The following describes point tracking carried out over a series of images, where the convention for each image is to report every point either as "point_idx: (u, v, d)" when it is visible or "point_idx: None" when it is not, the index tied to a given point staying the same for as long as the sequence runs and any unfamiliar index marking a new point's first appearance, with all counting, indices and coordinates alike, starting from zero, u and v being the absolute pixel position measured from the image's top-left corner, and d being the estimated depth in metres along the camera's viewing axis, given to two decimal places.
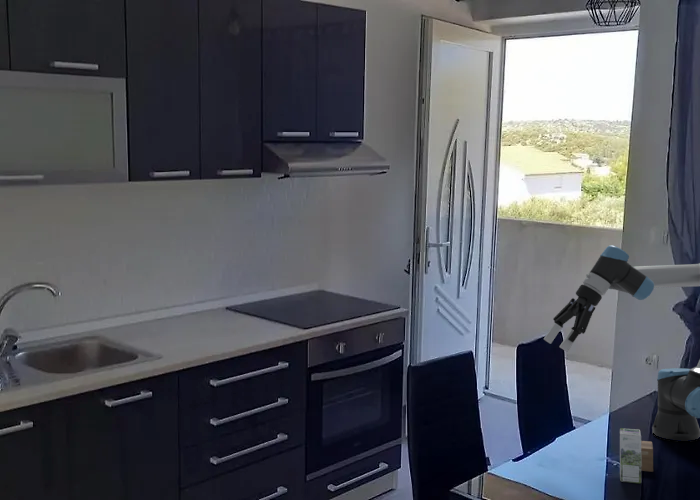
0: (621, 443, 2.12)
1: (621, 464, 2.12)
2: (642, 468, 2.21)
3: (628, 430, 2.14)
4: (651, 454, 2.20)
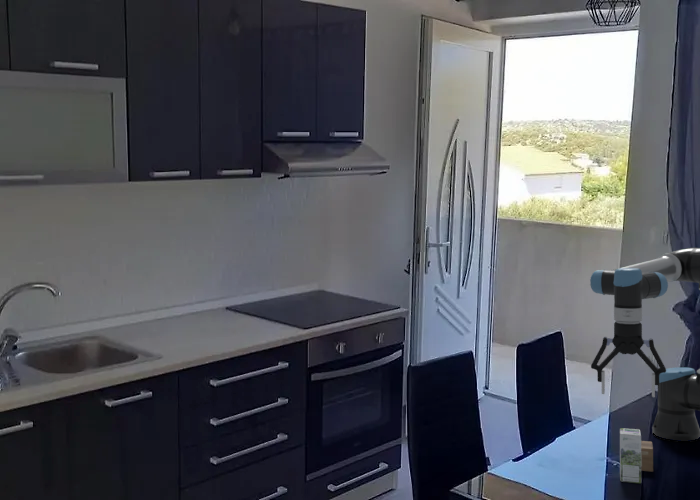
0: (621, 443, 2.12)
1: (621, 464, 2.12)
2: (642, 468, 2.21)
3: (628, 430, 2.14)
4: (651, 454, 2.20)
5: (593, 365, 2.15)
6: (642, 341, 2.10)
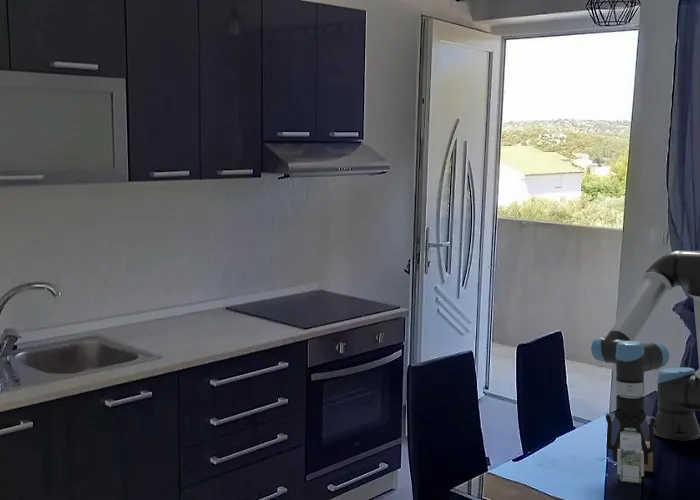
0: (621, 443, 2.12)
1: (621, 464, 2.12)
2: None
3: (628, 430, 2.14)
4: (651, 454, 2.20)
5: (608, 445, 2.14)
6: (645, 416, 2.11)
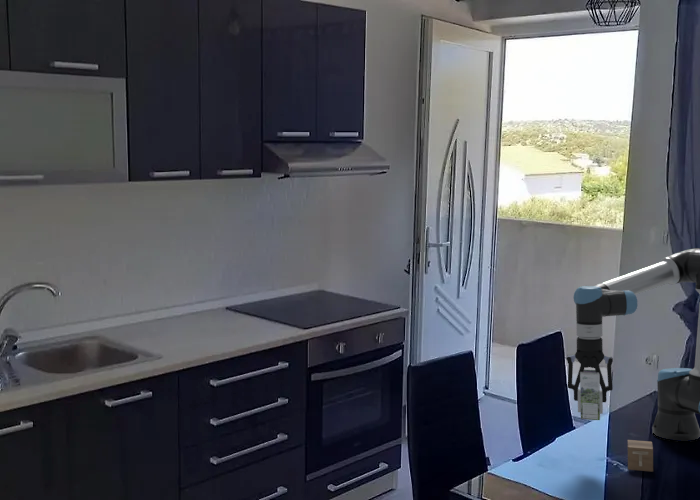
0: (581, 382, 2.23)
1: (581, 402, 2.24)
2: (642, 468, 2.21)
3: (588, 370, 2.25)
4: (651, 454, 2.20)
5: (569, 385, 2.26)
6: (603, 356, 2.23)
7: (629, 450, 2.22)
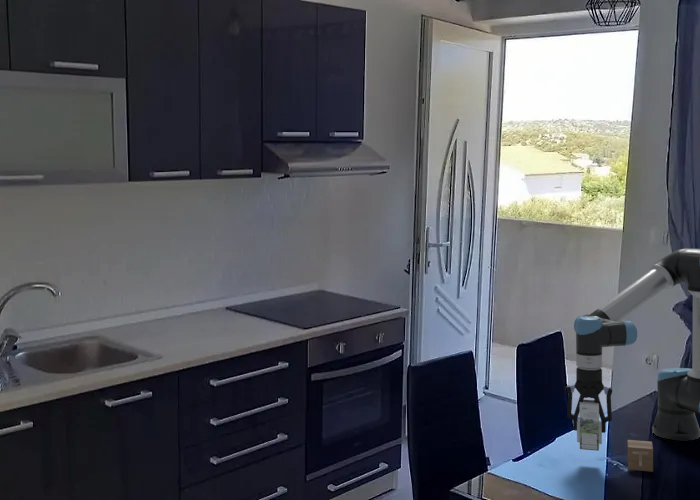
0: (580, 412, 2.24)
1: (580, 432, 2.25)
2: (642, 468, 2.21)
3: (587, 400, 2.26)
4: (651, 454, 2.20)
5: (568, 415, 2.27)
6: (602, 387, 2.23)
7: (629, 450, 2.22)
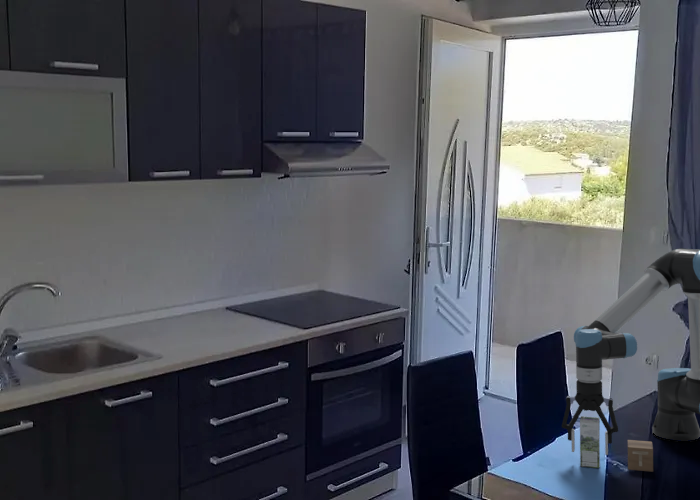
0: (581, 430, 2.25)
1: (581, 450, 2.25)
2: (642, 468, 2.21)
3: (588, 418, 2.27)
4: (651, 454, 2.20)
5: (563, 425, 2.28)
6: (602, 399, 2.24)
7: (629, 450, 2.22)
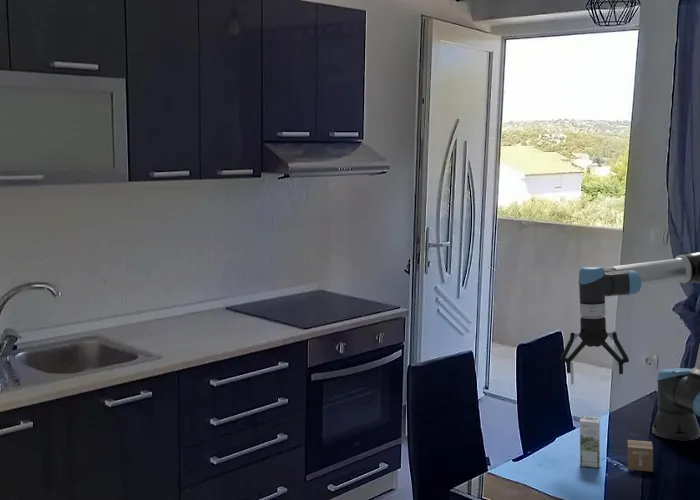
0: (581, 430, 2.25)
1: (581, 450, 2.25)
2: (642, 468, 2.21)
3: (588, 418, 2.27)
4: (651, 454, 2.20)
5: (562, 358, 2.31)
6: (606, 334, 2.27)
7: (629, 450, 2.22)
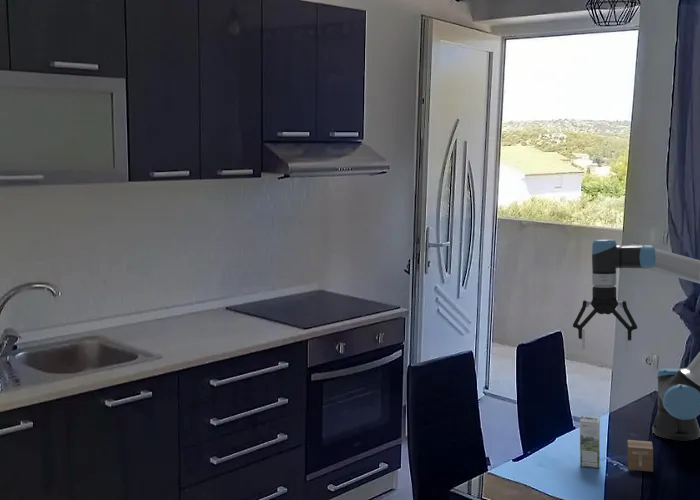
0: (581, 430, 2.25)
1: (581, 450, 2.25)
2: (642, 468, 2.21)
3: (588, 418, 2.27)
4: (651, 454, 2.20)
5: (574, 324, 2.47)
6: (616, 302, 2.42)
7: (629, 450, 2.22)
